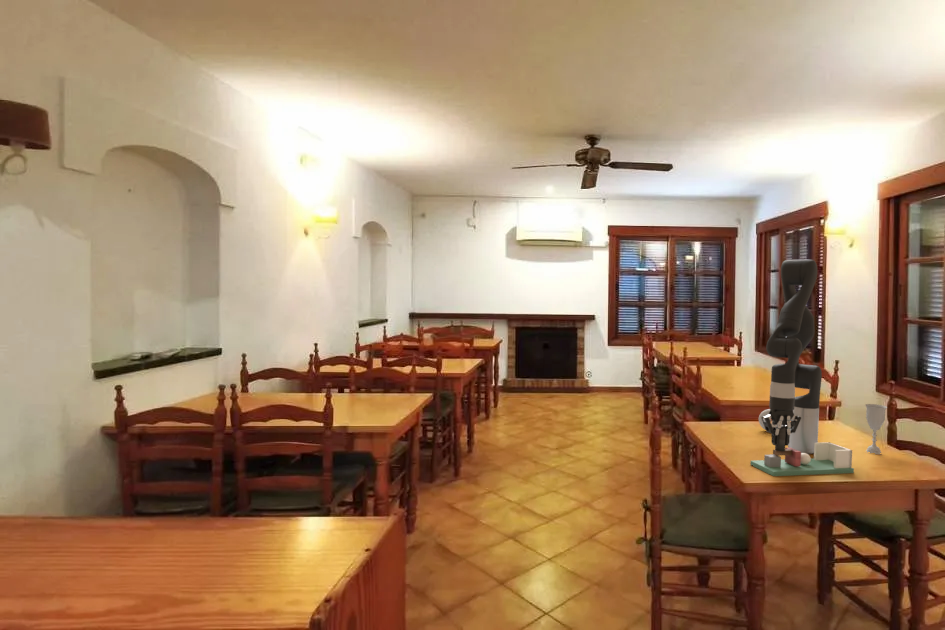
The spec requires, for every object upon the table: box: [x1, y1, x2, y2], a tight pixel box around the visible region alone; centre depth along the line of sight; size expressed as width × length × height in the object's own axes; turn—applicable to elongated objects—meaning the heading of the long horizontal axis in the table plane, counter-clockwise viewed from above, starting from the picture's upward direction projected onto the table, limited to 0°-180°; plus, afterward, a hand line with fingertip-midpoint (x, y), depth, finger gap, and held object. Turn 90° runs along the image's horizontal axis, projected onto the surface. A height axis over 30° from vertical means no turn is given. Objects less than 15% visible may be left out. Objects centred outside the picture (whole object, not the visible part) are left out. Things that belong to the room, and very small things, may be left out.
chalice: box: [864, 403, 888, 455], centre depth 216 cm, size 7×7×18 cm
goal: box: [813, 441, 853, 468], centre depth 197 cm, size 10×6×6 cm, turn 9°
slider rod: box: [772, 426, 801, 466], centre depth 194 cm, size 5×8×13 cm, turn 99°
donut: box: [758, 408, 777, 431], centre depth 246 cm, size 10×4×10 cm, turn 60°
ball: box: [801, 453, 811, 465], centre depth 195 cm, size 4×4×4 cm
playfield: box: [749, 453, 855, 477], centre depth 195 cm, size 12×30×5 cm, turn 99°
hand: (780, 444), depth 194 cm, fingers closed on slider rod, 3 cm apart
